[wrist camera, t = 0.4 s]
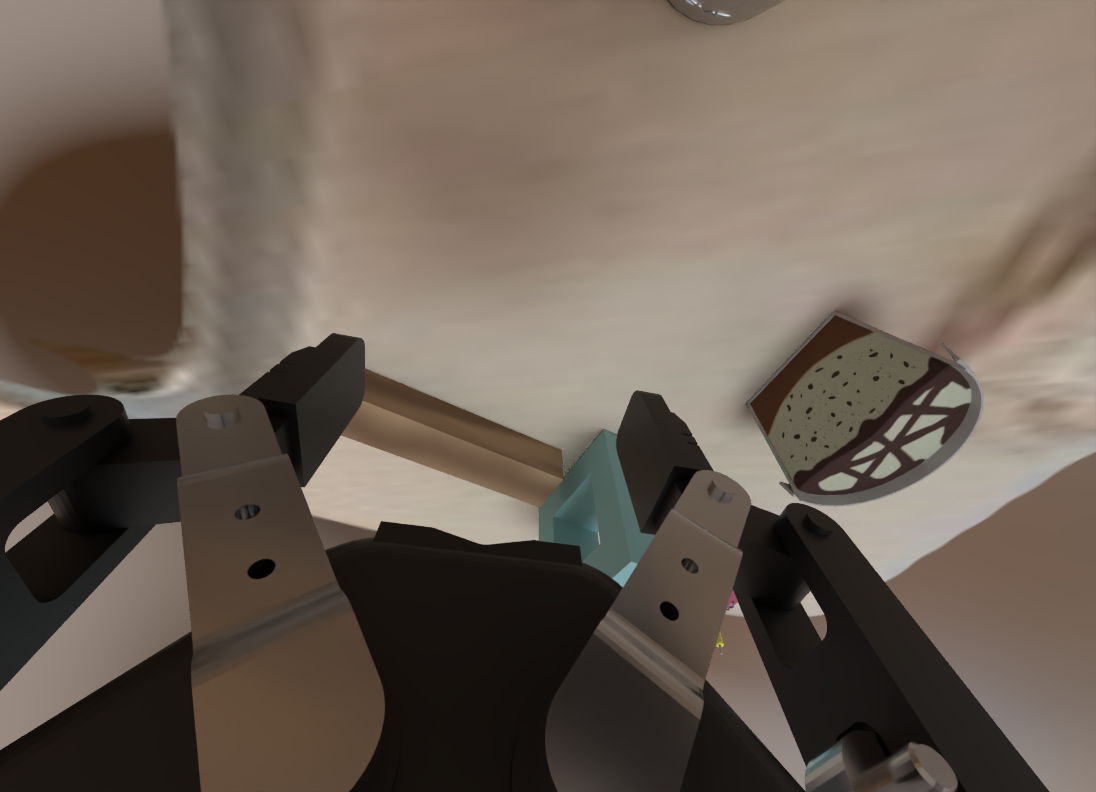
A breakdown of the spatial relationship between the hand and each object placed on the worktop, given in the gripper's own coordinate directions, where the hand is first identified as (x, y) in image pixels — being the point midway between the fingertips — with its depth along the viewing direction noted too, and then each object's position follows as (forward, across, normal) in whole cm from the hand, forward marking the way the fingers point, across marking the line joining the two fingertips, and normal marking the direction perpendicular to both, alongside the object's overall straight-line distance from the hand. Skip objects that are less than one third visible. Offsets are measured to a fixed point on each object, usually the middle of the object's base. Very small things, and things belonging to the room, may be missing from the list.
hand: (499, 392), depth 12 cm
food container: (+18, -25, +4) cm, 31 cm away
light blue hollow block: (+19, -11, +19) cm, 29 cm away
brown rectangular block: (+19, +3, +15) cm, 24 cm away
